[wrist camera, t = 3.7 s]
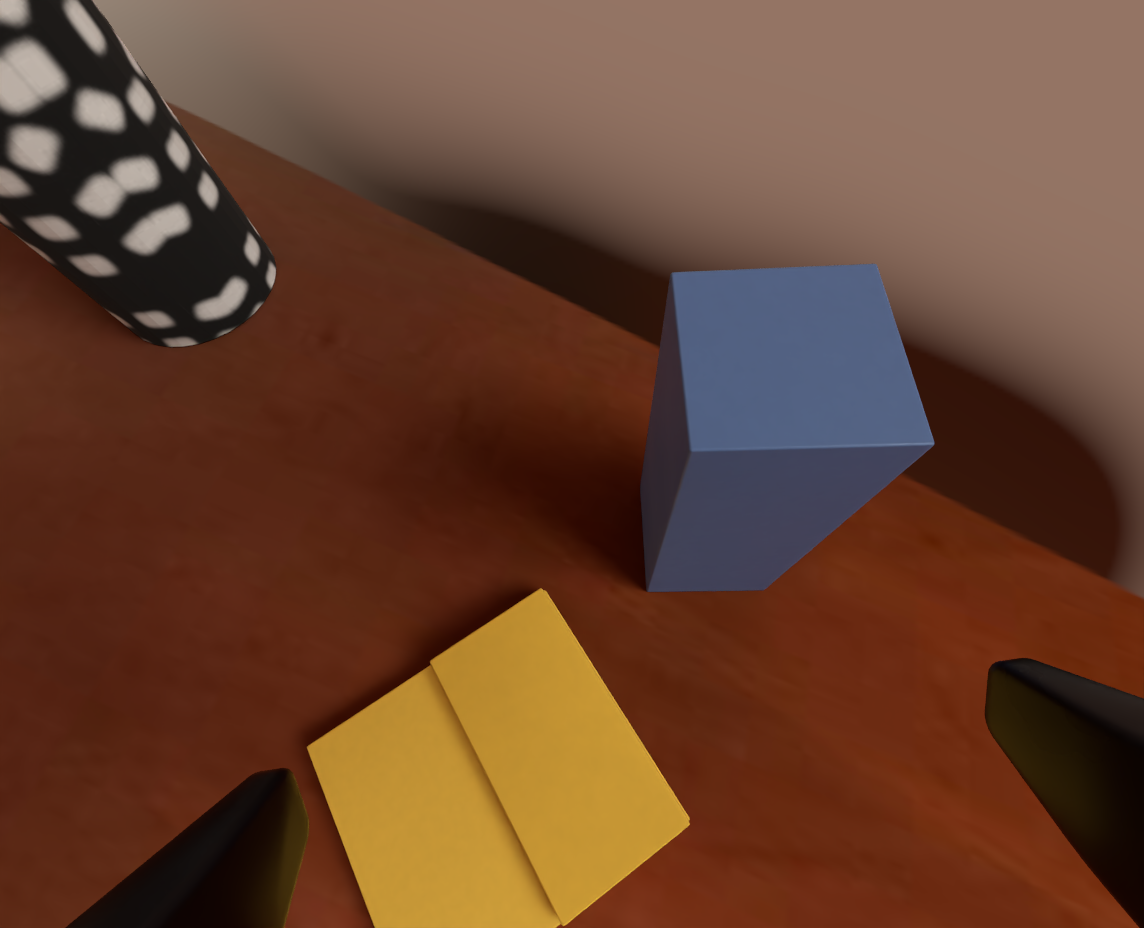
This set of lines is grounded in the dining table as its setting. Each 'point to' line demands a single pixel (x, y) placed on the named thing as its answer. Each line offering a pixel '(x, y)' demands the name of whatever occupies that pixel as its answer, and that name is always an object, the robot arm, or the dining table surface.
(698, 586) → the block
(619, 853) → the cloth
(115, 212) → the spotted tube
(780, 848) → the dining table surface
